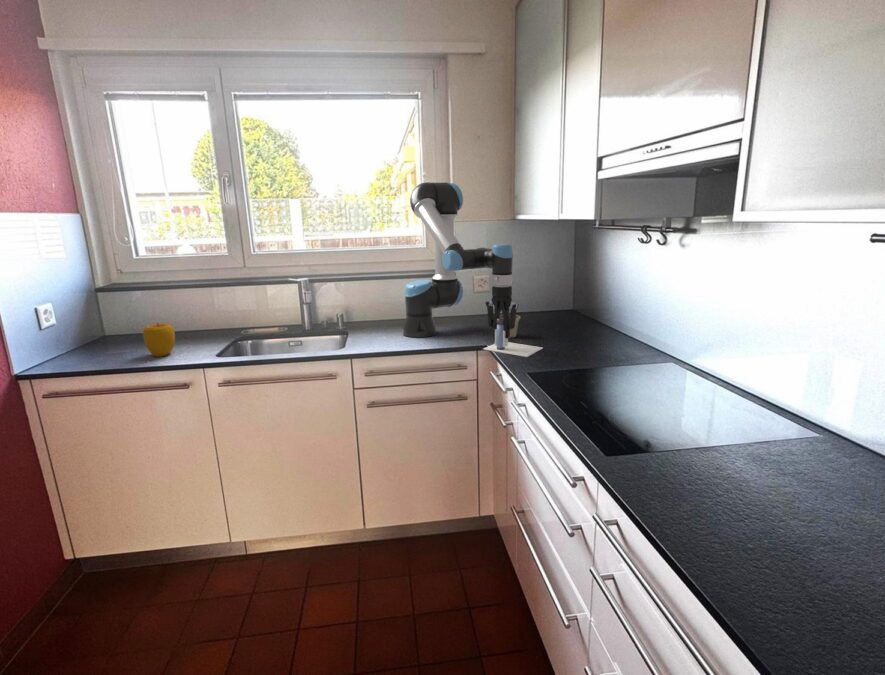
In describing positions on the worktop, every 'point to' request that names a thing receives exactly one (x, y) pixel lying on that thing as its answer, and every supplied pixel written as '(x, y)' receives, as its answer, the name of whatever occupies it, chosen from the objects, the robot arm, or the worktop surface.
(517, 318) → the flower pot
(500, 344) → the cylinder
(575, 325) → the worktop surface
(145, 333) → the apple
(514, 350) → the paper
